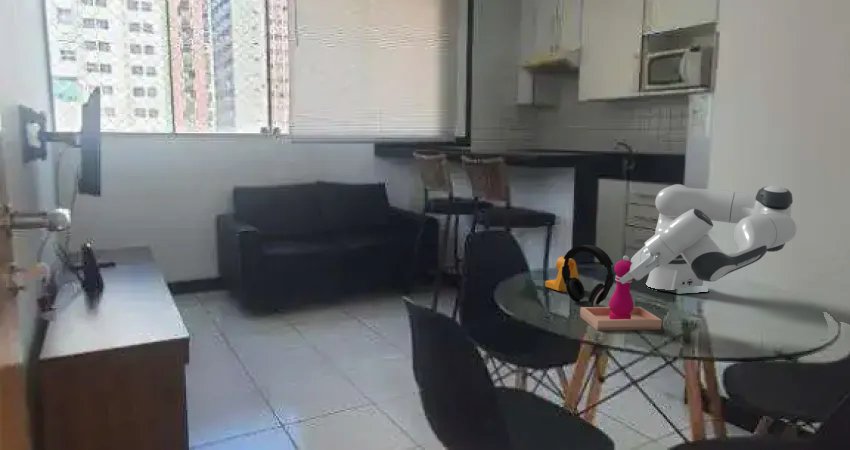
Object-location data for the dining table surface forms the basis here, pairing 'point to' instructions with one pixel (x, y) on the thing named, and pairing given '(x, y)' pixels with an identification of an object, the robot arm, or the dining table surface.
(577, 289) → the headphones
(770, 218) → the robot arm
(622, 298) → the pepper mill
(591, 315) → the tray
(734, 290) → the dining table surface
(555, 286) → the bracket
